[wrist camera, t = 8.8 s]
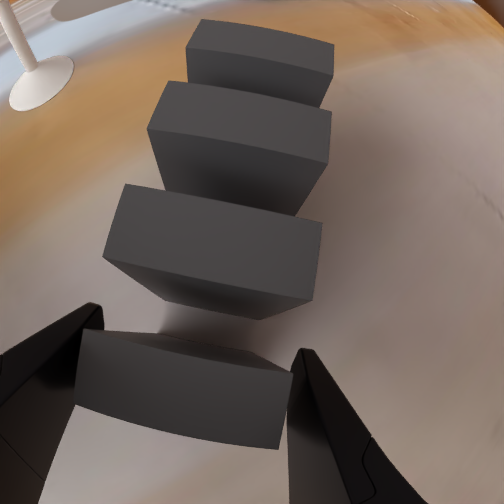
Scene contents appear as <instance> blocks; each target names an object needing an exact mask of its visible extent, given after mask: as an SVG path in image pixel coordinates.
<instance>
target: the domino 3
mask: <svg viewBox="0 0 504 504" xmlns="http://www.w3.org/2000/svg"><path fill="white" fill-rule="evenodd" d="M321 231H322V223H320V222H316V221H311V220H307V219H303V218H298V217H294V216H289V215H285V214H280V213H276V212H271V211H266V210H262V209H257V208H252V207H247V206H242V205H237V204H233V203H228V202H223V201H218V200H212V199H207V198H202V197H197V196H192V195H186V194H181V193H176V192H170V191H165V190H159V189H153V188H148V187H142V186H136V185H130V184H125V186H124V189H123V192H122V195H121V198H120V201H119V204H118V207H117V210H116V213H115V216H114V219H113V222H112V225H111V229H110V232H109V235H108V239H107V242H106V246H105V249H104V253H103V256H102V257H103V258H105V259H106V260H107V261H109V262H110V263H111V264H113V265H114V266H116V267H117V268H118V269H120V270H121V271H123V272H124V273H125V274H127V275H128V276H130V277H131V278H133V279H134V280H135V281H137V282H138V283H140V284H141V285H143V286H144V287H146V288H147V289H149V290H150V291H151V292H153V293H154V294H156V295H157V296H159V297H160V298H162V299H163V300H165V301H169V302H173V303H178V304H182V305H187V306H192V307H196V308H201V309H206V310H210V311H215V312H220V313H225V314H230V315H235V316H240V317H246V318H251V319H256V320H261V319H264V318H267V317H269V316H272V315H275V314H278V313H280V312H283V311H286V310H289V309H291V308H294V307H297V306H299V305H302V304H305V303H307V302H310V301H312V299H313V292H314V286H315V278H316V271H317V264H318V256H319V248H320V240H321Z"/></svg>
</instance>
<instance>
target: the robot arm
mask: <svg viewBox="0 0 504 504" xmlns="http://www.w3.org/2000/svg"><path fill="white" fill-rule="evenodd" d="M83 329H94V330H104V318H103V309H102V307H101V305H98V304H95V303H91V302H89V303H87V304H85V305H83V306H81V307H80V308H78V309H76V310H74V311H73V312H71V313H69V314H68V315H66V316H64V317H62V318H61V319H59V320H57V321H56V322H54V323H52V324H51V325H49V326H47V327H45V328H44V329H42V330H40V331H39V332H37V333H35V334H34V335H32V336H30V337H29V338H27V339H25V340H24V341H22V342H21V343H19V344H17V345H16V346H14V347H12V348H11V349H9V350H7V351H6V352H4V353H3V355H2V354H1V355H0V504H38V502H39V499H40V496H41V493H42V490H43V487H44V484H45V481H46V478H47V475H48V472H49V470H50V467H51V464H52V461H53V459H54V456H55V453H56V451H57V448H58V446H59V443H60V441H61V438H62V436H63V433H64V431H65V428H66V426H67V423H68V421H69V418H70V416H71V414H72V411H73V409H74V407H75V404H73V397H74V388H75V380H76V373H77V366H78V359H79V352H80V346H81V340H82V335H83ZM290 372H291V373H293V379H292V384H291V390H290V395H289V400H288V405H287V442H288V470H289V504H428V503H427V502H426V501H425V500H424V499H423V498H422V497H421V496H420V495H419V494H418V493H417V492H416V491H415V490H414V488H413V487H412V486H411V485H410V484H409V483H408V482H407V480H406V479H405V478H404V477H403V476H402V475H401V474H400V472H399V471H398V470H397V469H396V468H395V466H394V465H393V464H392V463H391V462H390V460H389V459H388V458H387V456H386V455H385V454H384V452H383V451H382V449H381V448H380V447H379V445H378V444H377V442H376V441H375V439H374V438H373V437H371V434H370V432H369V431H368V429H367V428H366V426H365V425H364V423H363V422H362V420H361V419H360V417H359V416H358V414H357V413H356V411H355V410H354V409H353V407H352V406H351V404H350V403H349V401H348V400H347V398H346V397H345V395H344V394H343V392H342V391H341V389H340V388H339V386H338V385H337V383H336V382H335V380H334V379H333V377H332V376H331V375H330V373H329V372H328V370H327V369H326V367H325V366H324V364H323V363H322V361H321V360H320V358H319V357H318V355H317V354H316V352H315V351H314V350H312V349H307V348H300V349H299V350H298V352H297V354H296V357H295V359H294V361H293V363H292V366H291V369H290Z"/></svg>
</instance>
